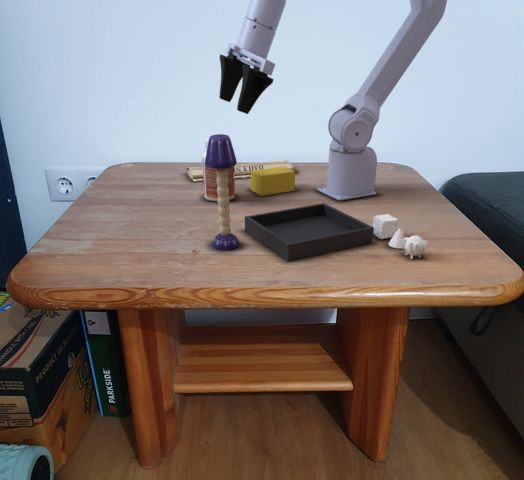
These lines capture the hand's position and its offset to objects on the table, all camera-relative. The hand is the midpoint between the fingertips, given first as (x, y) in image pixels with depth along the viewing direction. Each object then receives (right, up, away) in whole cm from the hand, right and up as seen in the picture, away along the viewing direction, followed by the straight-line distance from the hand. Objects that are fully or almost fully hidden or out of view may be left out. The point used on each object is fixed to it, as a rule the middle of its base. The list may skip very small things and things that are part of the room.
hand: (233, 106), depth 97 cm
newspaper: (0, -5, +24) cm, 25 cm away
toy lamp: (-1, -28, -12) cm, 30 cm away
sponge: (+7, -11, +14) cm, 19 cm away
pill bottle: (-3, -14, +9) cm, 17 cm away
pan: (+13, -26, -8) cm, 30 cm away
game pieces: (+27, -28, -11) cm, 41 cm away
